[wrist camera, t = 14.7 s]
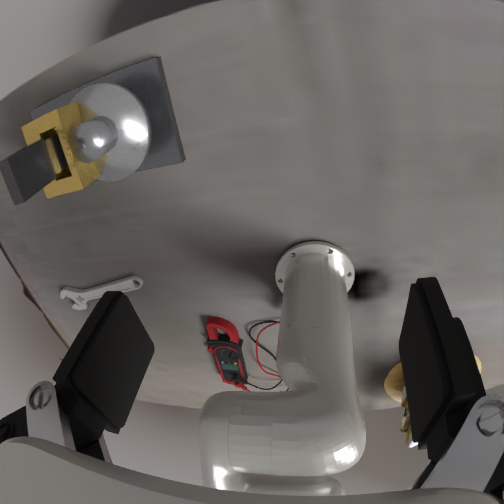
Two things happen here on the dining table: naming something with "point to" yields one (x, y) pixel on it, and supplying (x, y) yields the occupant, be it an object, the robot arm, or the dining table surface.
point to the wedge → (33, 168)
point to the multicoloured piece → (110, 127)
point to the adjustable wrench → (99, 291)
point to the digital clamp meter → (232, 351)
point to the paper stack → (403, 397)
